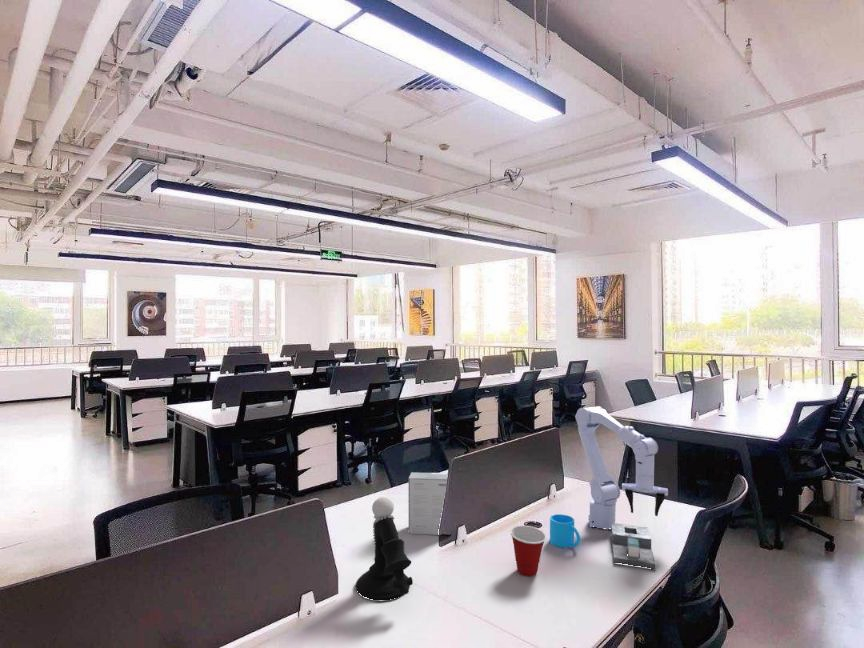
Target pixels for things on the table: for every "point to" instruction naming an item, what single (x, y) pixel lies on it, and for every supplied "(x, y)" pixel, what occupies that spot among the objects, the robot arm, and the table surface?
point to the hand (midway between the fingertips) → (644, 513)
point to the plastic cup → (527, 548)
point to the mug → (563, 531)
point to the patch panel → (621, 545)
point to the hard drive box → (426, 502)
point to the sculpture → (385, 558)
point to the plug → (633, 547)
